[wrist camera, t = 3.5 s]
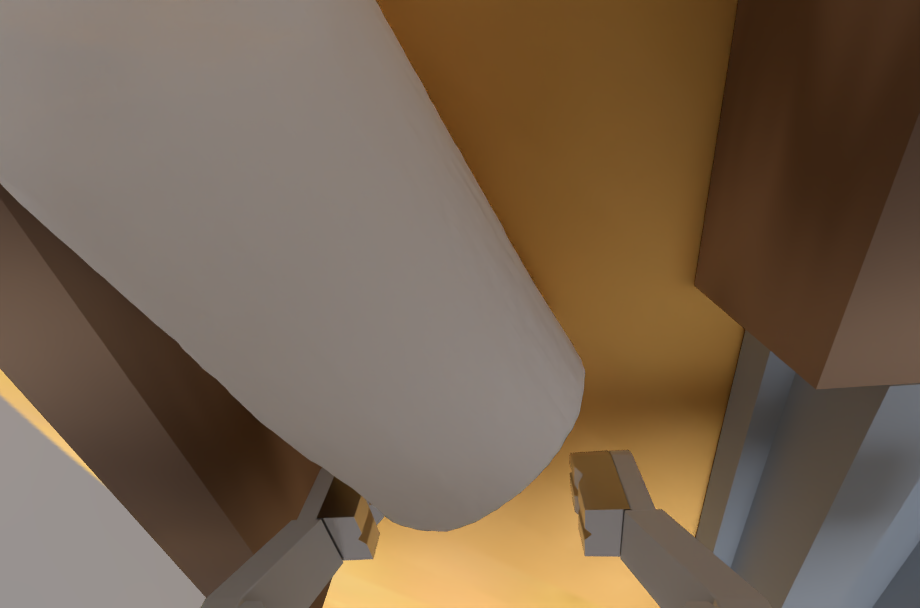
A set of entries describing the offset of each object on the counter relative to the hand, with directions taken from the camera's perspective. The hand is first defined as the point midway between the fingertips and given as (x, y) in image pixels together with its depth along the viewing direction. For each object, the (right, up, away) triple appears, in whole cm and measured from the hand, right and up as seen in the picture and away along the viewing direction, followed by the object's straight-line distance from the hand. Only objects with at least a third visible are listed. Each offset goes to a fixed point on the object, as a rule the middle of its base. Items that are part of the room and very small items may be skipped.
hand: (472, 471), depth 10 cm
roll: (-3, +8, -1) cm, 9 cm away
